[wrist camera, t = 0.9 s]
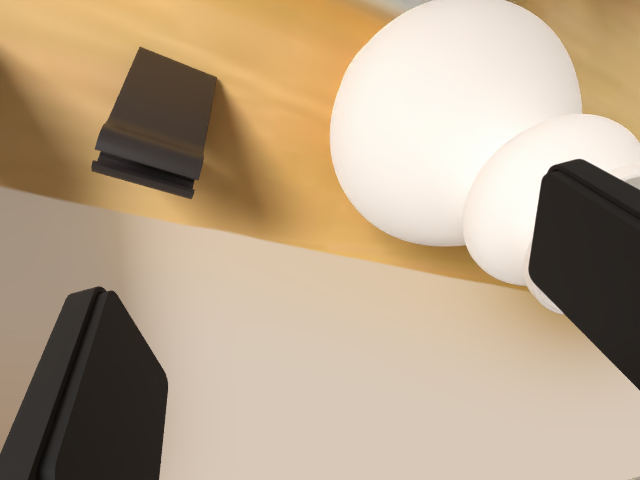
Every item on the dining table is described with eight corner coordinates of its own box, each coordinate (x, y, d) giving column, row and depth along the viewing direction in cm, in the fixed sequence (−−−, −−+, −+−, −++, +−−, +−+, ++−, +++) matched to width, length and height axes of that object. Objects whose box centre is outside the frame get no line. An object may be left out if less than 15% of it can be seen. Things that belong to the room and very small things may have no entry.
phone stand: (140, 45, 32) (108, 80, 23) (217, 76, 35) (218, 121, 25) (115, 150, 36) (79, 220, 26) (186, 172, 39) (177, 244, 29)
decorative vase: (417, 212, 46) (580, 409, 26) (273, 141, 39) (340, 342, 18) (530, 59, 39) (871, 162, 19) (382, -63, 32) (685, -111, 11)
